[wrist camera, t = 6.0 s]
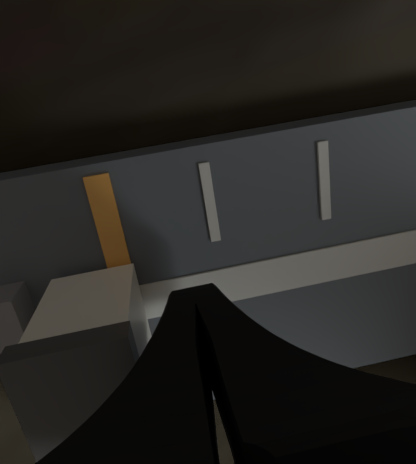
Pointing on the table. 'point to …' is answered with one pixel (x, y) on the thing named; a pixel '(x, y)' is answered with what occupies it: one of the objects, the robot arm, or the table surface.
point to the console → (237, 229)
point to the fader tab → (74, 353)
